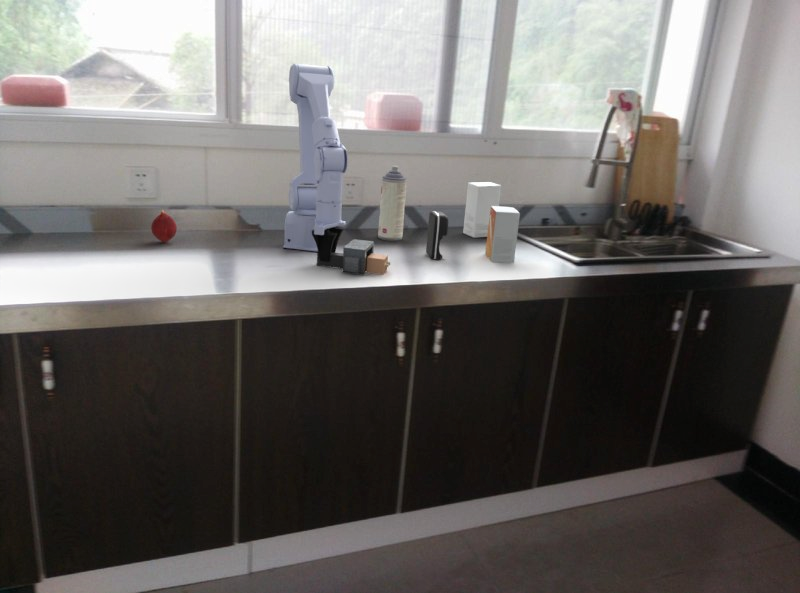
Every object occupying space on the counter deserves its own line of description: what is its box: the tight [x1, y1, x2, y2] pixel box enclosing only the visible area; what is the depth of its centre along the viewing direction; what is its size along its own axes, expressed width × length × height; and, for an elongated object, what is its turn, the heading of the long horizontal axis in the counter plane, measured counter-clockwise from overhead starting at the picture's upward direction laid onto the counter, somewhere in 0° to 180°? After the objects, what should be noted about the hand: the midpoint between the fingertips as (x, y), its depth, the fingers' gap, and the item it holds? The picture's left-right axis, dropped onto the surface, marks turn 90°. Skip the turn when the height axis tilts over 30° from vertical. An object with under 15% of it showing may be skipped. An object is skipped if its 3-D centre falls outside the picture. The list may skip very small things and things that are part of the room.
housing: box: [341, 238, 375, 276], centre depth 146 cm, size 5×11×6 cm, turn 169°
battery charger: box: [425, 210, 449, 260], centre depth 163 cm, size 7×4×11 cm, turn 11°
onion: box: [150, 209, 178, 244], centre depth 157 cm, size 6×6×8 cm
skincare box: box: [462, 181, 502, 238], centre depth 191 cm, size 8×7×16 cm
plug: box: [316, 251, 391, 276], centre depth 148 cm, size 17×4×4 cm, turn 79°
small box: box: [484, 205, 521, 264], centre depth 166 cm, size 8×6×13 cm
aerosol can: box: [377, 165, 407, 242], centre depth 178 cm, size 7×7×20 cm
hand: (326, 259), depth 149 cm, fingers open, 3 cm apart
